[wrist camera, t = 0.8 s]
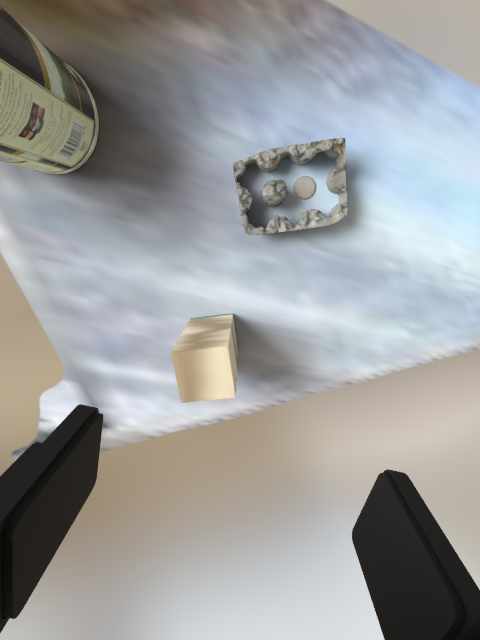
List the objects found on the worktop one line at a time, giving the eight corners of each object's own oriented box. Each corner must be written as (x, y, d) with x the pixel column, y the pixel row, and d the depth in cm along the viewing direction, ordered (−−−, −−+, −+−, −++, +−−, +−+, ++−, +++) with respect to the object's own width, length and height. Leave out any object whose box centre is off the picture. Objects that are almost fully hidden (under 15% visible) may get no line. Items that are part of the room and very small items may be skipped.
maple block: (232, 313, 35) (227, 346, 26) (238, 352, 37) (235, 397, 27) (190, 318, 36) (170, 352, 26) (197, 356, 37) (181, 402, 28)
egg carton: (338, 144, 30) (352, 132, 26) (340, 223, 32) (353, 222, 29) (232, 160, 31) (230, 150, 27) (241, 236, 33) (241, 237, 29)
